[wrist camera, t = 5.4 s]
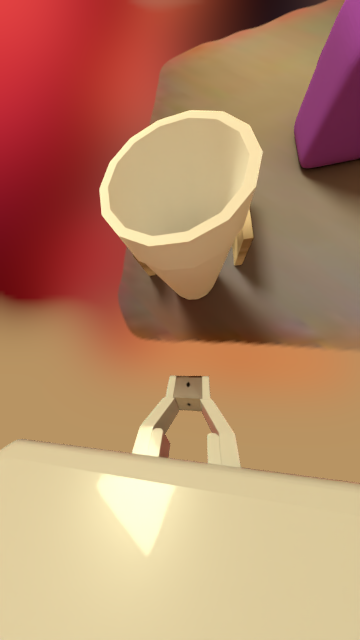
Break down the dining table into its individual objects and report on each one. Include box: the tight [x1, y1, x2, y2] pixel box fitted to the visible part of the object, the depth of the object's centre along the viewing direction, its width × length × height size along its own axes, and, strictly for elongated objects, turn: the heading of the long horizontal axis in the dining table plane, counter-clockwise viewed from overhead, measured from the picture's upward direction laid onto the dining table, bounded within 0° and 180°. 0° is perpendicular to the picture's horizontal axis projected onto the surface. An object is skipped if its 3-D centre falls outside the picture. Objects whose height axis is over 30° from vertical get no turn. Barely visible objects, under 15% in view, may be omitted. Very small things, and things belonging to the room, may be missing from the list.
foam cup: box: [100, 110, 263, 300], centre depth 14 cm, size 10×9×13 cm
